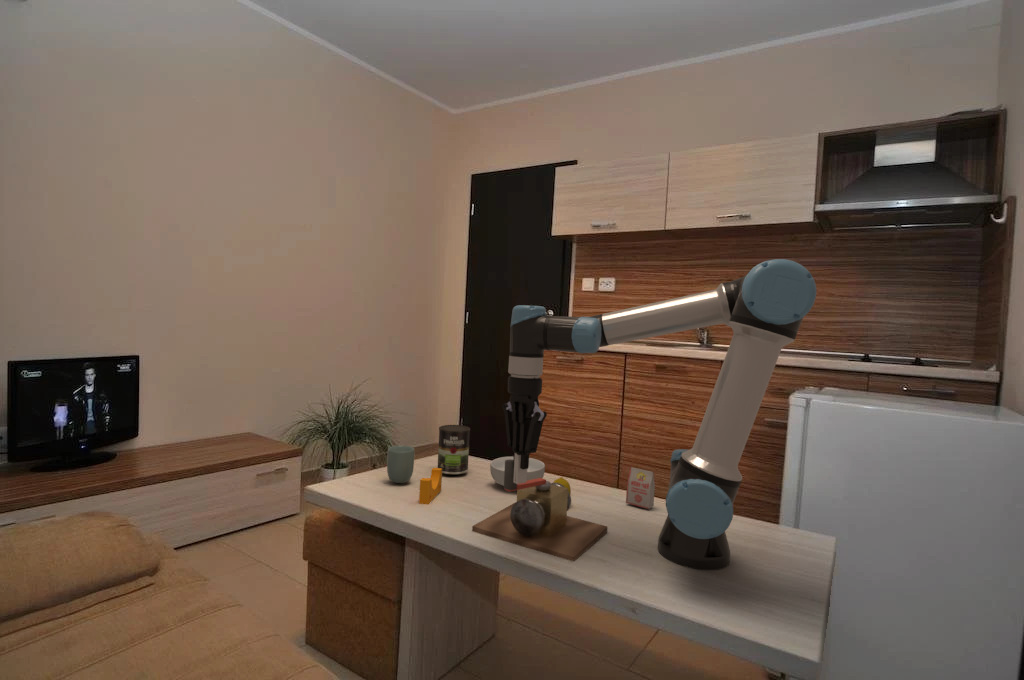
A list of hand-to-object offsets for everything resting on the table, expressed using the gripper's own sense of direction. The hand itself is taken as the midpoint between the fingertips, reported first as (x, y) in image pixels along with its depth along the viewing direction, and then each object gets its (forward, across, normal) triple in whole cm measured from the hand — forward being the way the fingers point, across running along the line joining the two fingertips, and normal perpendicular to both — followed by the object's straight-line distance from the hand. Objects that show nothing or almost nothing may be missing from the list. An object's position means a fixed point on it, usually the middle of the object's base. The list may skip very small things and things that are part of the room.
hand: (519, 482), depth 112 cm
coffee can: (+15, +57, -17) cm, 61 cm away
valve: (+13, +3, -10) cm, 17 cm away
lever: (+4, +3, -10) cm, 11 cm away
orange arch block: (+15, +39, +2) cm, 42 cm away
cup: (+15, +54, +3) cm, 56 cm away
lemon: (+15, +14, -26) cm, 33 cm away
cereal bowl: (+15, +34, -26) cm, 45 cm away
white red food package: (+15, +4, -47) cm, 50 cm away
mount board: (+15, +3, -10) cm, 18 cm away
